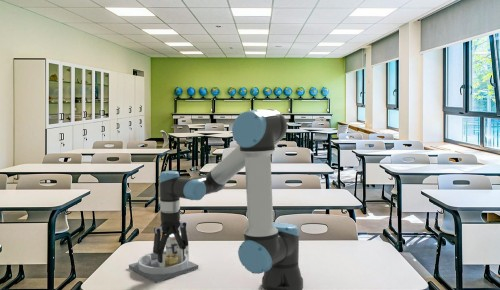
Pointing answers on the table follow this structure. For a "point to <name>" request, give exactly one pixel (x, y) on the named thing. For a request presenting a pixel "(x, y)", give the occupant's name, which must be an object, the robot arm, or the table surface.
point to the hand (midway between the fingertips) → (171, 267)
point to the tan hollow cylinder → (171, 260)
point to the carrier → (154, 272)
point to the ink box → (175, 245)
